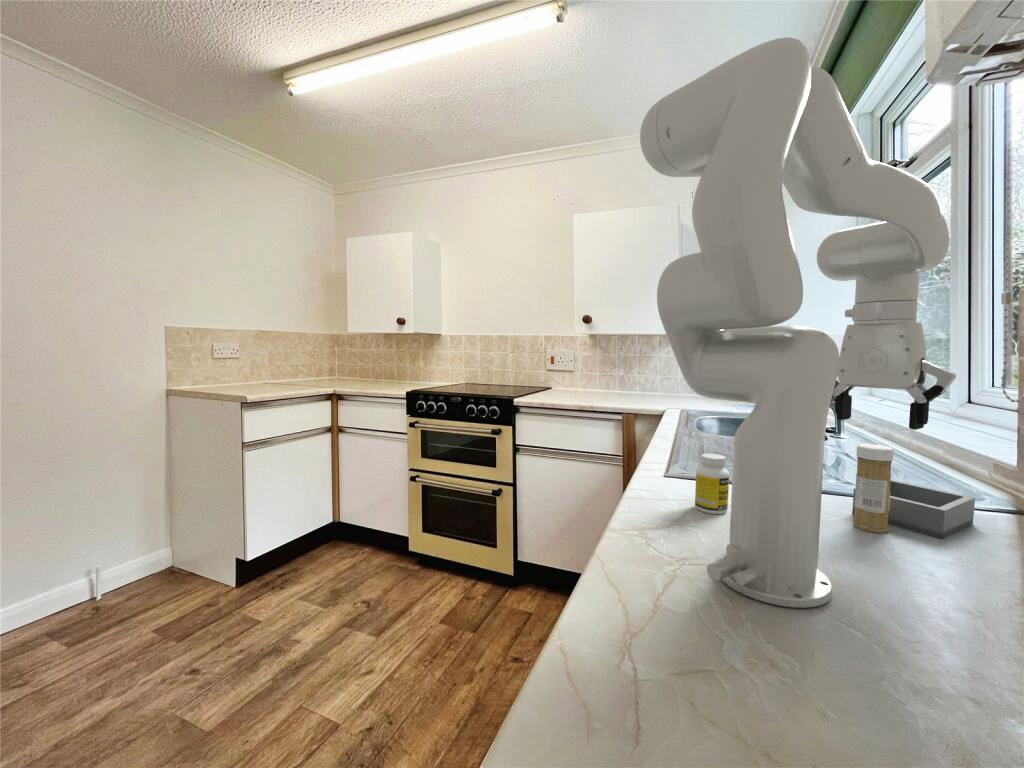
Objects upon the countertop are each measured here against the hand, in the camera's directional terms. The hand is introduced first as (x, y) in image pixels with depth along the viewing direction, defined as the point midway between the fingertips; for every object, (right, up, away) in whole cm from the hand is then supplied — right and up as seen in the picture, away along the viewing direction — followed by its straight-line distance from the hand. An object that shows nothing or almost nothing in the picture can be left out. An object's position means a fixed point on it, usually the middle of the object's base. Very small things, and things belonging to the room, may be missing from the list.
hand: (877, 423), depth 72 cm
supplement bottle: (-22, -17, +10) cm, 29 cm away
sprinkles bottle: (0, -17, +1) cm, 17 cm away
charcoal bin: (+10, -17, +5) cm, 20 cm away
